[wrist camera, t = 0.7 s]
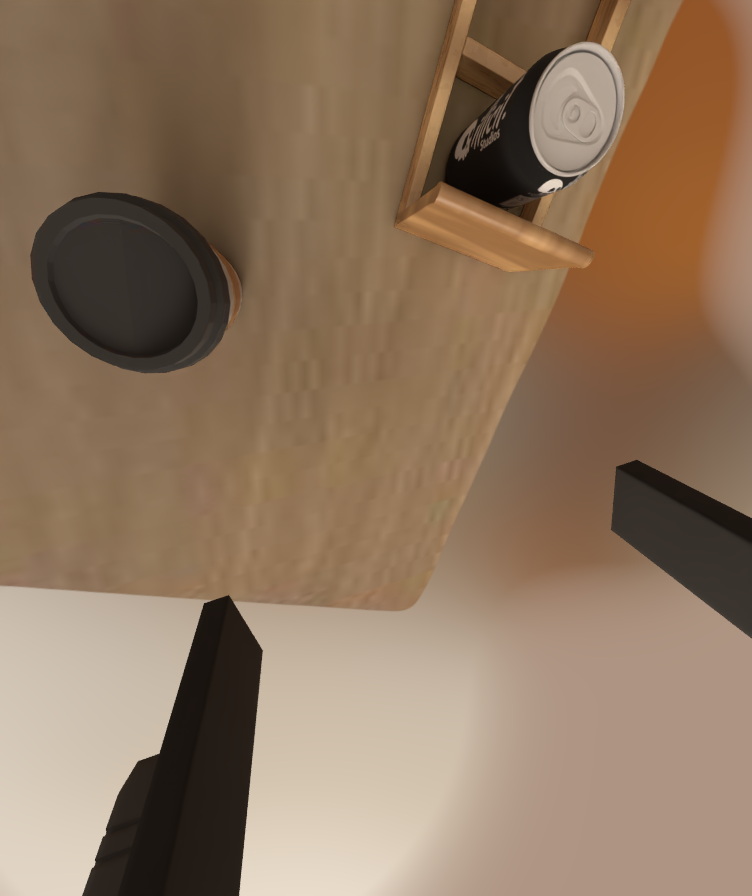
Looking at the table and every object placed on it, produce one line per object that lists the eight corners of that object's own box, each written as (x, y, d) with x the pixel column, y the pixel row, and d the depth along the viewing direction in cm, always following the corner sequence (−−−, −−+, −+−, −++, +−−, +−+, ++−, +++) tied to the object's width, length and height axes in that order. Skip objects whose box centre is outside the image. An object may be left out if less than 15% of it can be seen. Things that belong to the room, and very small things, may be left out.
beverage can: (464, 107, 28) (567, -3, 18) (528, 151, 30) (654, 76, 20) (430, 197, 30) (503, 148, 20) (492, 232, 32) (588, 205, 22)
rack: (501, -173, 23) (646, -500, 13) (636, -60, 26) (827, -256, 17) (393, 228, 31) (436, 201, 21) (508, 273, 34) (588, 267, 25)
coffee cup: (256, 242, 29) (220, 205, 16) (254, 346, 32) (224, 388, 19) (142, 221, 27) (-10, 158, 14) (152, 334, 30) (38, 371, 17)
